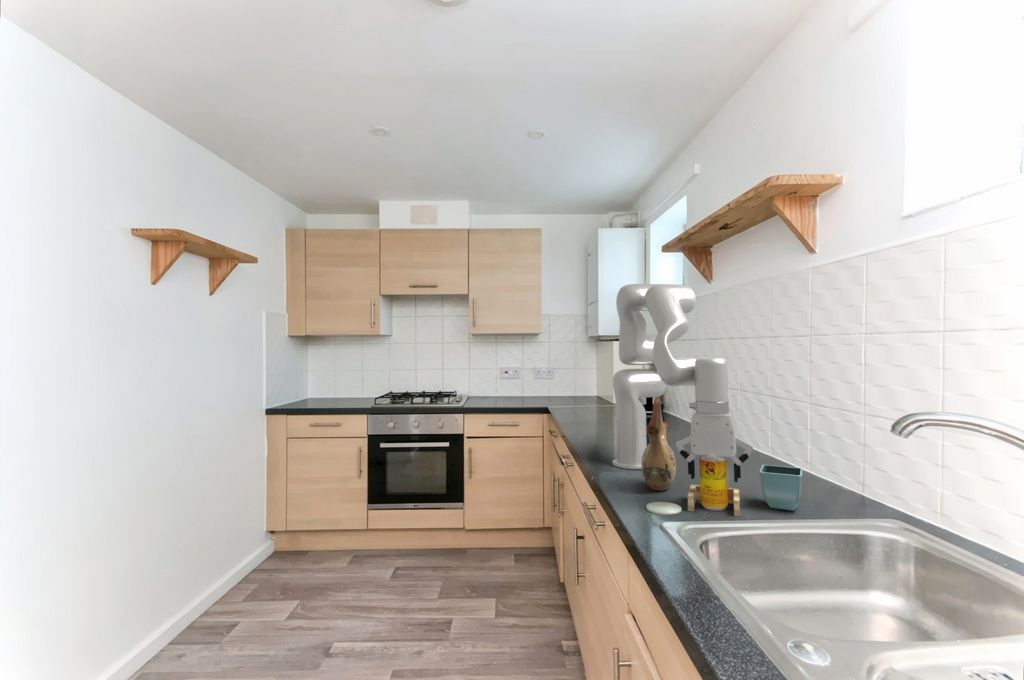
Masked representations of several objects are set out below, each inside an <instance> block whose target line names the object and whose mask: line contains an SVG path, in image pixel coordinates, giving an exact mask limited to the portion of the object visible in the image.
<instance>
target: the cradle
mask: <svg viewBox="0 0 1024 680" xmlns="http://www.w3.org/2000/svg"><path fill="white" fill-rule="evenodd" d="M727 496H728V504H730V505H733V515H734V517H739V516H740V517H741V509H740V506H741V505H740V504H741V502H740V501H741V500H740V489H739V488H734V487H727ZM696 501H701V499H700V484H690V485H689V490H688V493H687V511H688V512H694V509H695V505H696Z"/></svg>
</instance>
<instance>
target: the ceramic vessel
mask: <svg viewBox="0 0 1024 680" xmlns="http://www.w3.org/2000/svg"><path fill="white" fill-rule="evenodd" d="M663 420H664V419H663V414H662V406H661V399H660V398H659V397H654V401H653V406H652V413H651V418H650V421H649V422H648V426H647V427H646V435H647V436H648V440H649V444H647V447H646V448H645V450H644V452H643V456H642V461H641V468H642V469H641V473H642V476H643V479H644V481H645V483H646V484H647V485H648V487H649V488H650V489H652V490H653V491H657V492H663V491H666V490H667V489H668V488H669V487H670V486H671V485H672V484H673V482H674V479H675V477H676V471H677V461H676V456H675V454H674V451H673V450H672V448H671V446H670V445H669V444H668V440H667V428H668V423H667V422H665V421H663Z"/></svg>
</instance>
